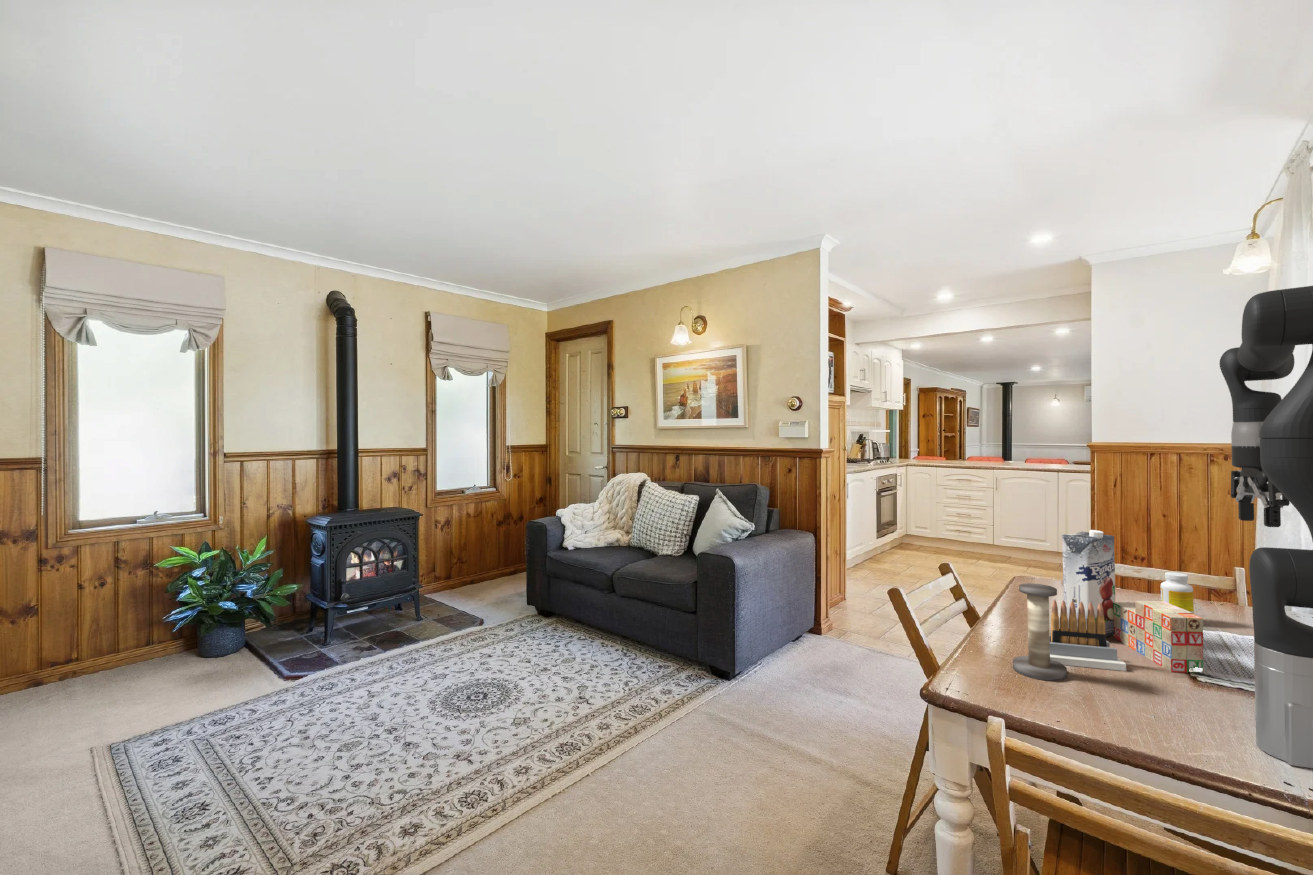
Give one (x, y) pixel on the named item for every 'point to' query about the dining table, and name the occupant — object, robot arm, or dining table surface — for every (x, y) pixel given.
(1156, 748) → the dining table surface
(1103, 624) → the ammunition clip
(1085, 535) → the juice carton
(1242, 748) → the dining table surface
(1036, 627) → the bobbin post
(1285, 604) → the robot arm
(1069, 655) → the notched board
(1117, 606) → the stack of blocks
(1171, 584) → the supplement bottle
